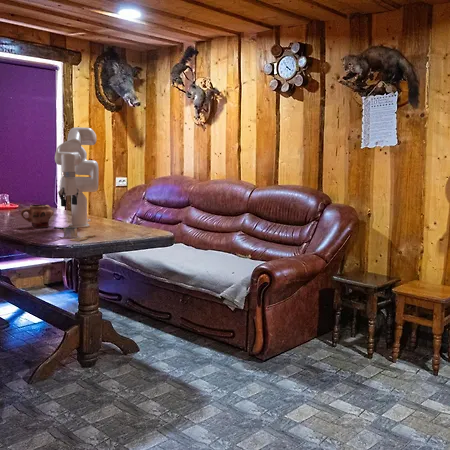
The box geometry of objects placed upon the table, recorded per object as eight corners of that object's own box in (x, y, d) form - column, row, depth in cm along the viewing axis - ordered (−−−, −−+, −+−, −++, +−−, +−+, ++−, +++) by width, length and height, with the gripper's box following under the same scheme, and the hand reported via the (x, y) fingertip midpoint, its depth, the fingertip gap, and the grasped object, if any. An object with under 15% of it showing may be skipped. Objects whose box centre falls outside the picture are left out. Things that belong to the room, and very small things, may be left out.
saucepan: (80, 236, 295) (80, 227, 294) (71, 238, 288) (71, 229, 287) (58, 234, 300) (58, 225, 299) (49, 236, 293) (49, 227, 292)
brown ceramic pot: (25, 229, 315) (25, 206, 313) (17, 227, 323) (17, 204, 321) (57, 227, 328) (57, 205, 326) (48, 224, 337) (48, 203, 335)
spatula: (90, 235, 298) (89, 234, 297) (98, 236, 296) (98, 235, 296) (70, 240, 281) (70, 238, 281) (79, 241, 279) (79, 239, 279)
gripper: (72, 173, 301) (72, 203, 304) (52, 175, 285) (53, 206, 288) (83, 174, 299) (83, 204, 301) (64, 176, 283) (65, 207, 285)
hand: (69, 205), depth 295 cm, fingers open, 9 cm apart
